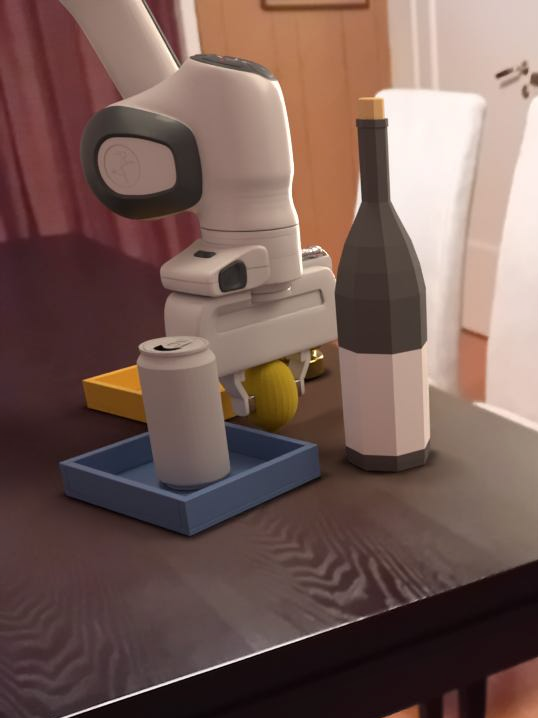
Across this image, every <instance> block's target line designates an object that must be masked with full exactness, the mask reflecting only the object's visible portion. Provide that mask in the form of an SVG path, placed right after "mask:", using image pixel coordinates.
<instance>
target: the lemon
mask: <svg viewBox="0 0 538 718" xmlns="http://www.w3.org/2000/svg"><path fill="white" fill-rule="evenodd" d="M244 375H245V381H243V382H241V384H242V386H243V388H244V389H245V391H246V393H247V394H249V395H254V396H255V401H256V403H255V406H256V412H255V413H252V414H250V415H247V416H246V417H247V418H248V419H249V420H250V421H251V422H252V423H253V424H254V425H256V426H258V427H259V428H263V429H265V431H266V432H269V433H273V434H277V433H278V432H279V431H280V429H281V428H283V427H285V426H287V425H288V424H289V423H290V422H291V421H292V420H293V418H294V416H295V414H296V412H297V410H298V405H299V397H298V392H297V387H296V383H295V380H294V377H293V375H292V372H291V371H290V369H289V368H288V366H287V365H285V364H284V363H283V362H282V361H280V360H278V359H277V360H274V361H271V362H268V363H265V364H261V365H258V366H255V367H252V368H249V369H246V370H244Z"/></svg>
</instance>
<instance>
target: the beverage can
mask: <svg viewBox="0 0 538 718" xmlns="http://www.w3.org/2000/svg"><path fill="white" fill-rule="evenodd" d="M208 347H209V341H208V340H206V339H204V338H200V337H192V336H173V337H166V336H163V337H158V338H152V339H149V340H146V341H144V342H142V343H140V344H139V345H138V351H139V352H140V354H139V356H138V358H137V360H136V365H137V368H138V374H139V380H140V385H141V391H142V397H143V403H144V408H145V414H146V420H147V423H146V424H147V432H148V431H149V437H150V443H151V448H152V454H153V460H154V466H155V471H156V476H157V478H158V479H159V480H160V481H161V482H163V483H166V485H167V486H168V487H170V488H173V489H177V490H197V489H203V488H206V487H209V486H211V485H213V484H216V483H218V482H220V481H222V480H223V478H224V477H225V476H226V475H227V474H228V473H229V472H230V461H229V454H228V446H227V439H226V431H225V424H224V422H225V420H224V416H223V409H222V402H221V394H220V387H219V379H218V372H217V364H216V357H215V355H214V354H213V352H212V351H211V350H210V349H209V348H208Z"/></svg>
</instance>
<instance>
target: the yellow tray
mask: <svg viewBox="0 0 538 718" xmlns="http://www.w3.org/2000/svg"><path fill="white" fill-rule="evenodd" d="M218 379H219V378H218ZM81 382H82V385H83V386H82V387H83V392H84V395H85V400H86V405H87V408H88V409H91V410H96V411H99V412H103V413H107V414H111V415H115V416H119V417H122V418H126V419H130V420H134V421H136V422H137V421H138V422H142V423H146V424H147V420H146V414H145V408H144V403H143V397H142V391H141V385H140V380H139V374H138V368H137V364H135V365H131V366H128V367H124V368H120V369H117V370H113V371H110V372H106V373H103V374H99V375H96V376H93V377H89V378H86V379H82V381H81ZM219 387H220V394H221V402H222V409H223V416H224V421H226V420H229V419H232V418H234V417H237V416H238V415H235V414H234V412H233V408H232V401H231V397H230V396H229V394H228V393H227V392H226V390H225V389H224V388H223V386H222V385H221V383H220V382H219Z"/></svg>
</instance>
